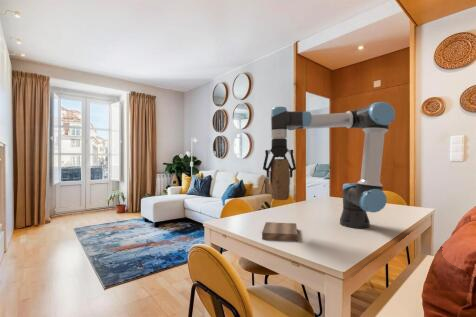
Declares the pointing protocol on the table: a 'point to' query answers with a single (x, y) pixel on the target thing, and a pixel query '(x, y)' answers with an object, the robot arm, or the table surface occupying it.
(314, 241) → the table surface
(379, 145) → the robot arm
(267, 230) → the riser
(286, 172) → the block
